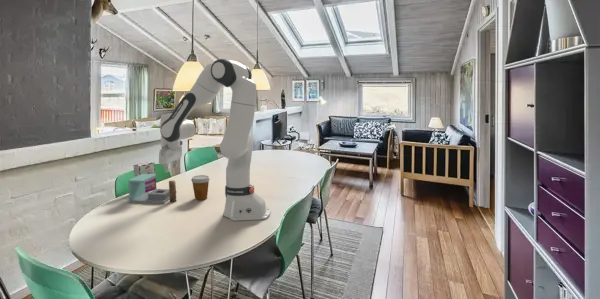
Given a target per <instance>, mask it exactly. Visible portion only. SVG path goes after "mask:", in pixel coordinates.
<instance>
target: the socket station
mask: <svg viewBox="0 0 600 299" xmlns="http://www.w3.org/2000/svg"><path fill="white" fill-rule="evenodd" d="M155 176H156V177H157V174H156V173H155V174H141V175H139V176H136V177H132V178H130V179H128V180H127V183H128V184H127V185H128V196H129V203H130V204H162V205H163V204H166V203H167V202H168V201H170V195H169V188H168V189H167V188H166V189H164V188H156V189H154V190H151V191H149V192H146V193H145V182H146V181H148V180H150V179H152V178H153V177H155Z"/></svg>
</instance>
